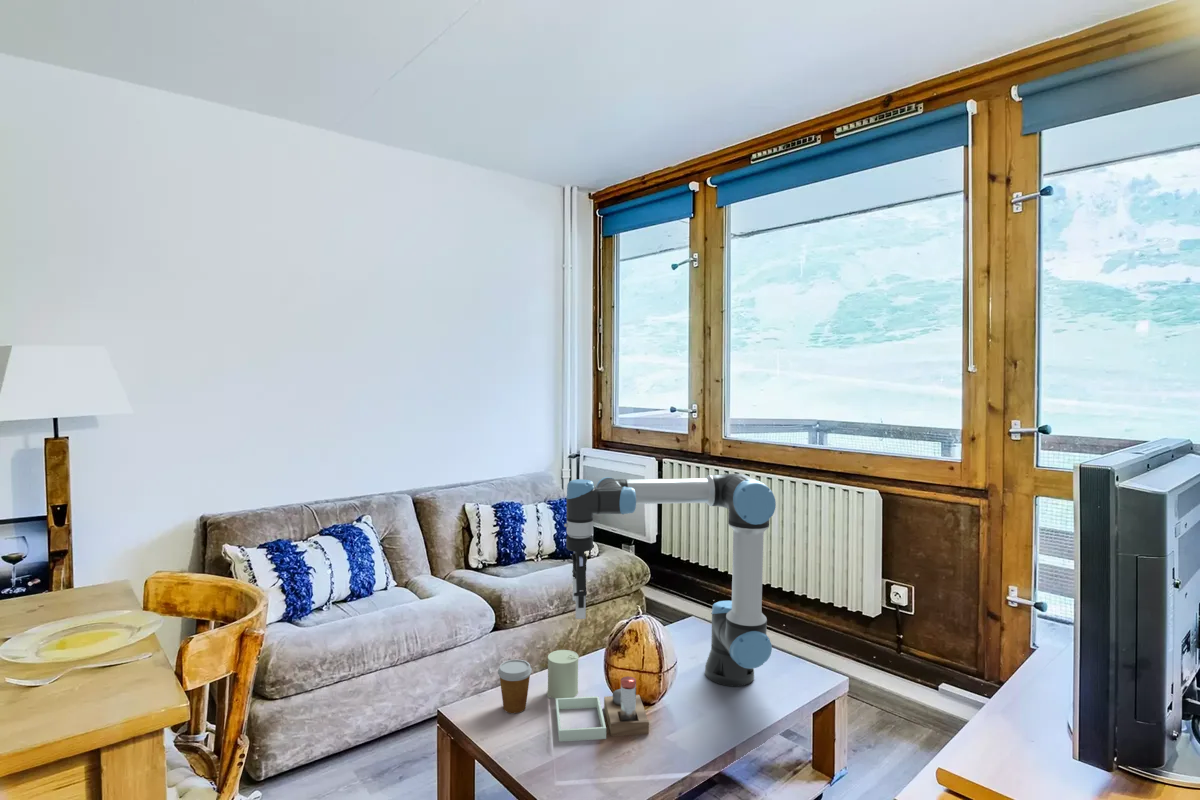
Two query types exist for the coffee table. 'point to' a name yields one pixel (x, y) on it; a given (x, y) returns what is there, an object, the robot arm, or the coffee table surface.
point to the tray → (580, 732)
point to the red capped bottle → (628, 699)
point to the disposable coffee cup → (514, 684)
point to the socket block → (628, 727)
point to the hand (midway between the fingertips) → (578, 609)
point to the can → (562, 674)
